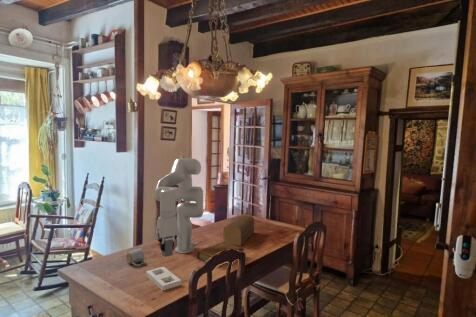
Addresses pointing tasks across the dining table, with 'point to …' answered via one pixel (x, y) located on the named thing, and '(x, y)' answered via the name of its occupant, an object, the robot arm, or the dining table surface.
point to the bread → (239, 230)
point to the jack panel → (163, 278)
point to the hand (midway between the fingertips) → (167, 249)
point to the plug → (168, 247)
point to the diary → (215, 250)
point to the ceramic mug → (135, 257)
